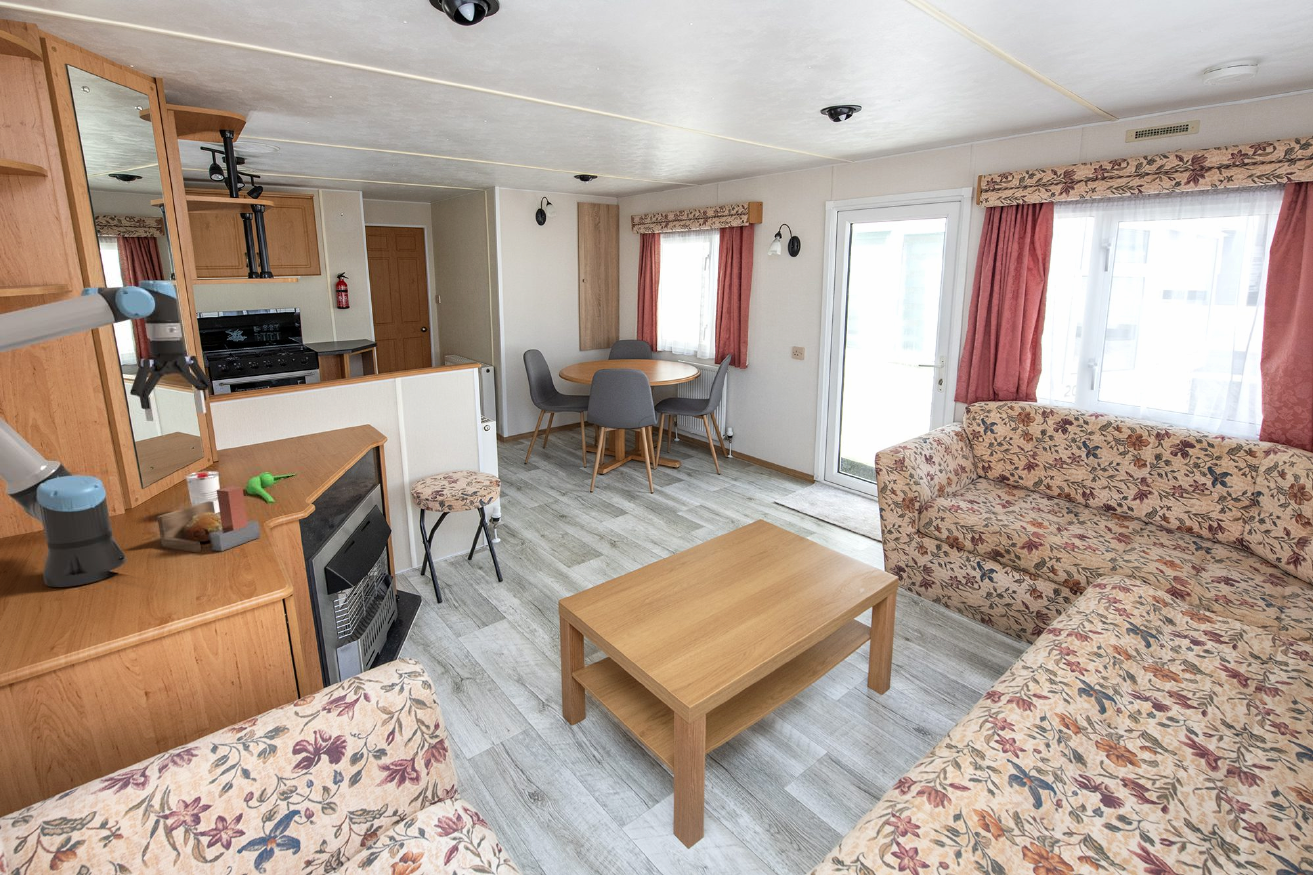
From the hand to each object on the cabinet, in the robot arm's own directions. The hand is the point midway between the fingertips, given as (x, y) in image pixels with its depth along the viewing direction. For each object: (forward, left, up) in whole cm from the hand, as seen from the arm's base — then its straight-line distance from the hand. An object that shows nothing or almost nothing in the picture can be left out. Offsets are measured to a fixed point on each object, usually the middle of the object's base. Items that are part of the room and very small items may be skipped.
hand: (177, 416), depth 177 cm
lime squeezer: (+34, +10, -32) cm, 48 cm away
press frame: (-7, -15, -32) cm, 36 cm away
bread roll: (-7, -16, -32) cm, 37 cm away
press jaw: (-7, -26, -32) cm, 41 cm away
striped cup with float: (+10, +8, -32) cm, 34 cm away
